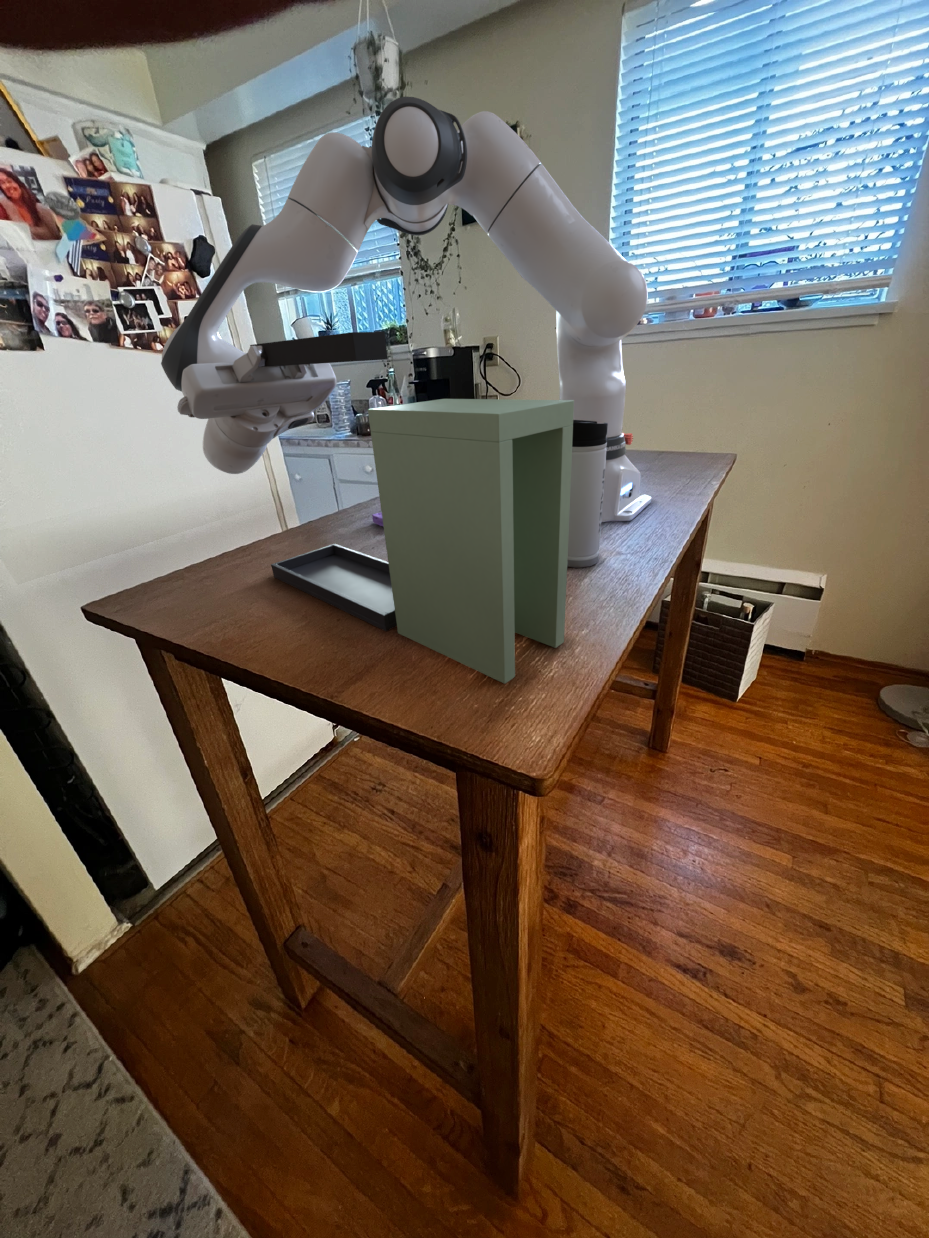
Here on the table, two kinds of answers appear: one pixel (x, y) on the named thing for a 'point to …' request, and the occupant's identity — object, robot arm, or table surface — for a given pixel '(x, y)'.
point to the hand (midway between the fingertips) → (280, 350)
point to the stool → (476, 523)
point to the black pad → (327, 349)
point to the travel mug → (586, 492)
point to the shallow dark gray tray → (343, 582)
